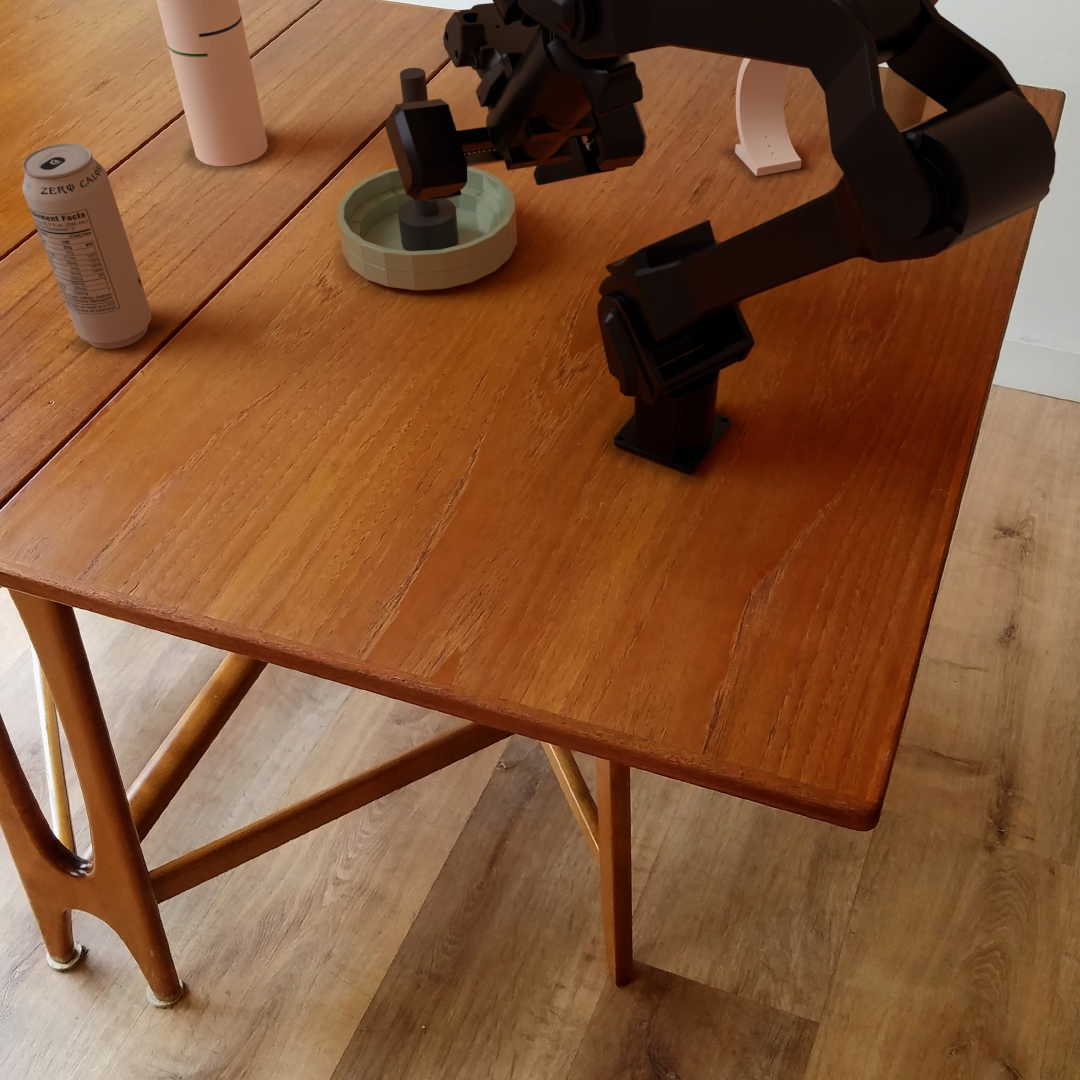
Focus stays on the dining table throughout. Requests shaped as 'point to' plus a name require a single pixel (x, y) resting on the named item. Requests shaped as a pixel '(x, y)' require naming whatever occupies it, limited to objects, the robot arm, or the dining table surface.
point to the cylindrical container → (215, 79)
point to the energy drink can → (86, 244)
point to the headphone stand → (763, 118)
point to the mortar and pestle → (903, 99)
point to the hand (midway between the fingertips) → (484, 187)
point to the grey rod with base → (422, 218)
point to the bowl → (384, 260)
